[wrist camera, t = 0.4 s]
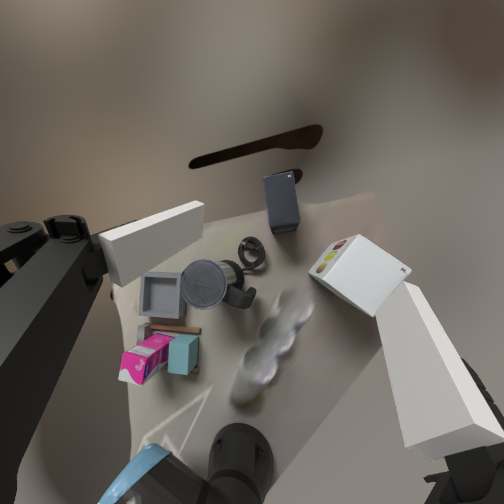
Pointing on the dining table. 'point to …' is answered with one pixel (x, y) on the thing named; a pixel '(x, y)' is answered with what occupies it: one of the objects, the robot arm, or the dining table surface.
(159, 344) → the supplement box
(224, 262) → the milk frother
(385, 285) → the supplement box
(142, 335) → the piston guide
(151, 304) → the tray
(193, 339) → the block
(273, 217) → the small box
